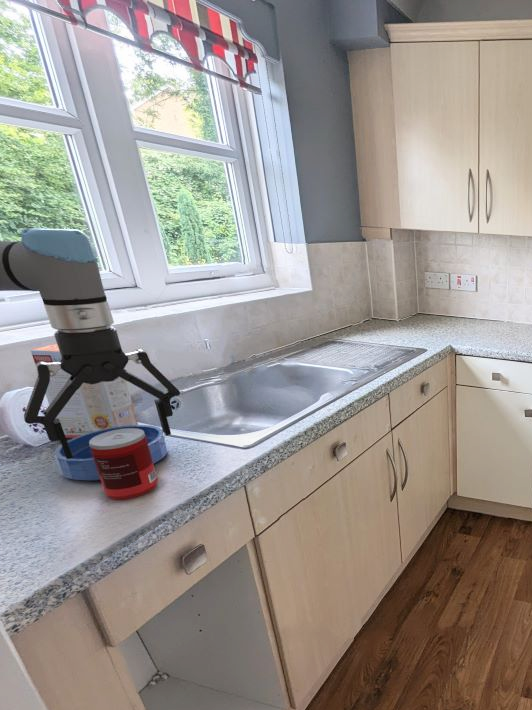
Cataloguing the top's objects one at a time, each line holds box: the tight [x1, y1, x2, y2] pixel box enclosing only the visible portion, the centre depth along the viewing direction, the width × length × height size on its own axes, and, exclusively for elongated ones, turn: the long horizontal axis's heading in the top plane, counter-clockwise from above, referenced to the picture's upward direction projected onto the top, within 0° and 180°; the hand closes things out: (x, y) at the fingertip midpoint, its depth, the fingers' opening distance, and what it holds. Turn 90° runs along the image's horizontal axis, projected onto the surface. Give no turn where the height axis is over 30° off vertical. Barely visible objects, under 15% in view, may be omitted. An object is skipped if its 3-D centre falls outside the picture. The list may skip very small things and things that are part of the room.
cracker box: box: [30, 343, 139, 439], centre depth 102 cm, size 14×6×21 cm, turn 88°
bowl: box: [53, 424, 169, 482], centre depth 93 cm, size 17×17×5 cm
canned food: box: [89, 428, 158, 501], centre depth 83 cm, size 8×8×11 cm
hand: (120, 443), depth 82 cm, fingers open, 13 cm apart
